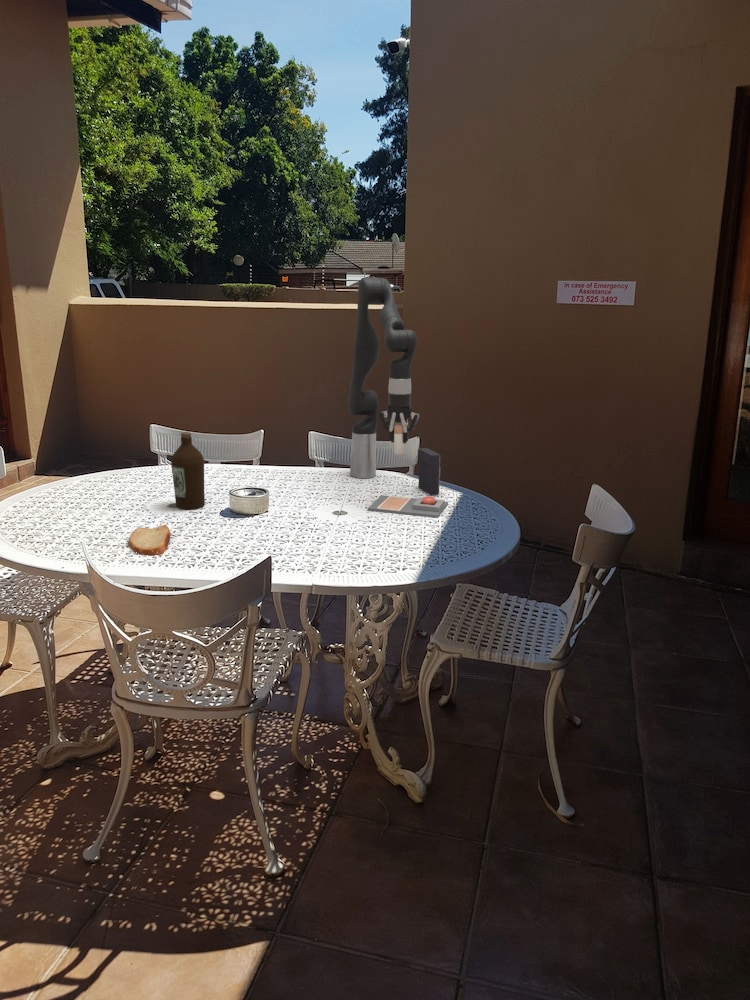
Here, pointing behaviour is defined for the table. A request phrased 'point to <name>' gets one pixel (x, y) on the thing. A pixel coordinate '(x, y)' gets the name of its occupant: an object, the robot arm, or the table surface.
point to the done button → (428, 500)
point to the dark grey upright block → (429, 471)
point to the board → (407, 506)
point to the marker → (398, 438)
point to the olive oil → (188, 475)
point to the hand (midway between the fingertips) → (398, 442)
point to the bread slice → (150, 540)
